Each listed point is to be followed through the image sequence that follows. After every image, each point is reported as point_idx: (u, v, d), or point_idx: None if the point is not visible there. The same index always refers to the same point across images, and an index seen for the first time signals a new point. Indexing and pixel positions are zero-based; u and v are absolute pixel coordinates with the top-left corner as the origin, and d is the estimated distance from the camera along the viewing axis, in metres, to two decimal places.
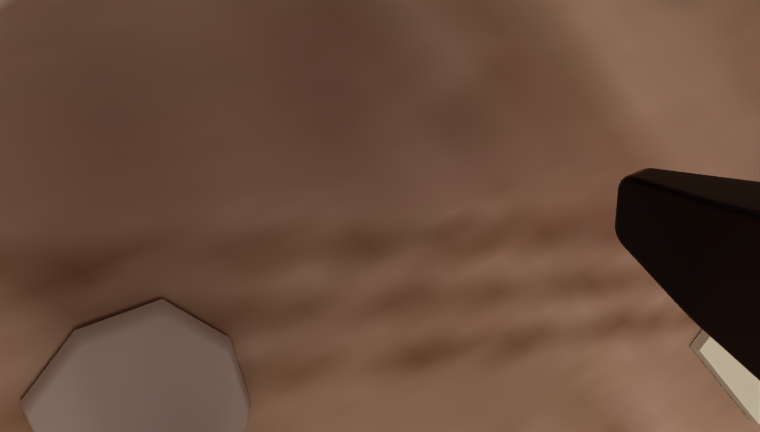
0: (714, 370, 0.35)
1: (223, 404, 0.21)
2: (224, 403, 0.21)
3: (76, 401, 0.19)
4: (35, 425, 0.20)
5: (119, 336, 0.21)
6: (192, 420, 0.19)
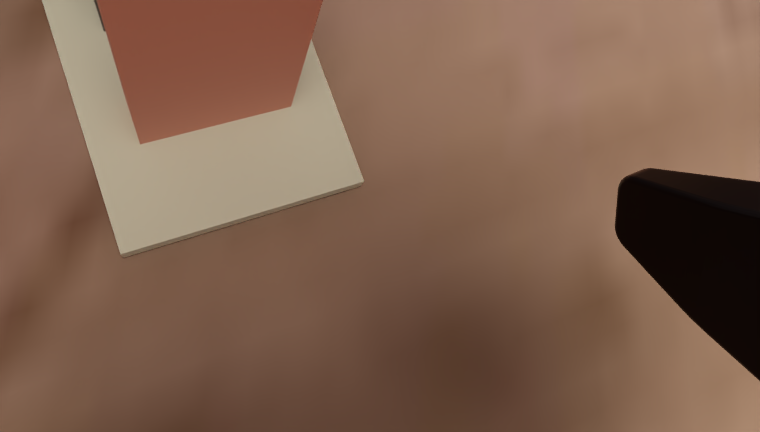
0: (190, 234, 0.20)
1: None
2: None
3: None
4: None
5: None
6: None
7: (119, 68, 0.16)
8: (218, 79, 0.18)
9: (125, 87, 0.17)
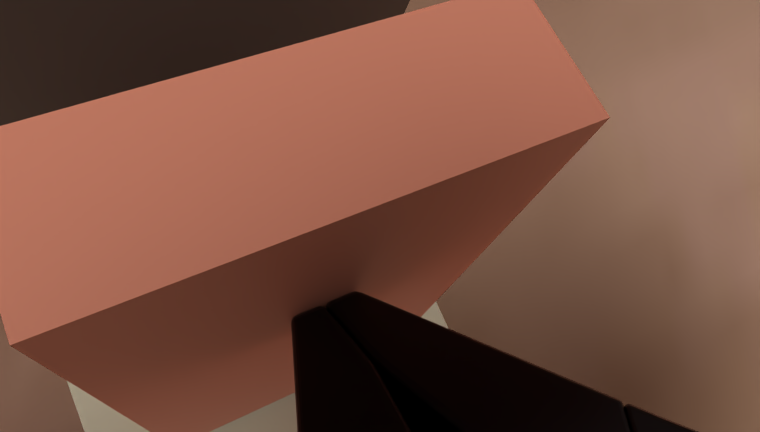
0: None
1: None
2: None
3: None
4: None
5: None
6: None
7: (133, 419, 0.09)
8: None
9: (147, 427, 0.09)
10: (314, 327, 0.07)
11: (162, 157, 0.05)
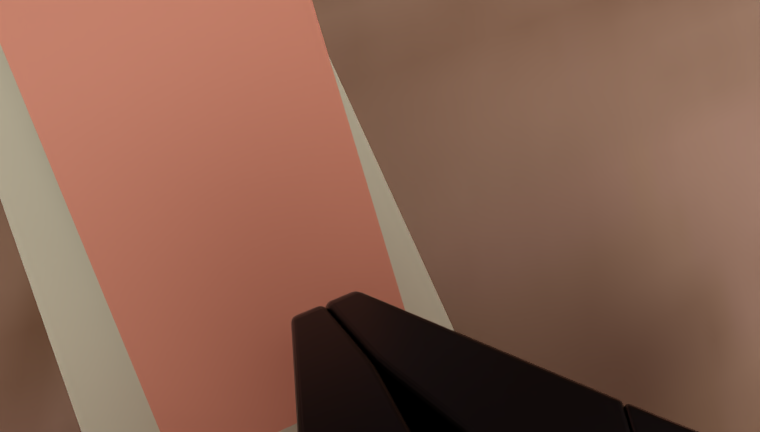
0: None
1: None
2: None
3: None
4: None
5: None
6: None
7: (67, 201, 0.11)
8: (246, 251, 0.12)
9: (93, 261, 0.11)
10: (314, 327, 0.07)
11: None
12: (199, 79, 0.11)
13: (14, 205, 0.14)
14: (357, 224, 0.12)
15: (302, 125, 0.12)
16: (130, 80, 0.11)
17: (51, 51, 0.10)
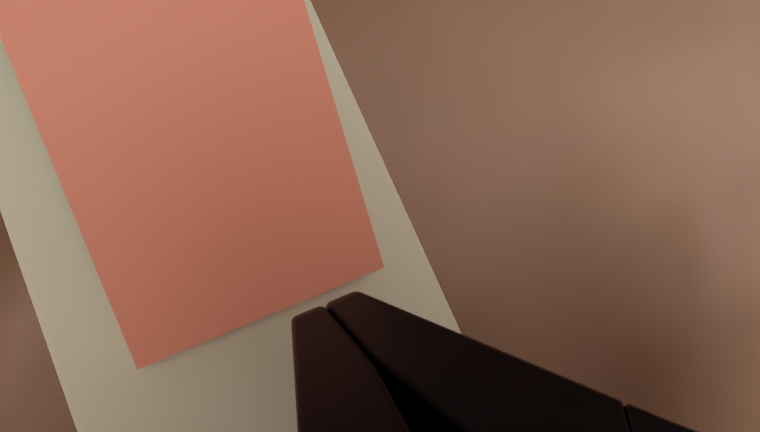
0: None
1: None
2: None
3: None
4: None
5: None
6: None
7: (19, 79, 0.10)
8: (203, 142, 0.12)
9: (46, 143, 0.11)
10: (314, 327, 0.07)
11: None
12: None
13: None
14: (318, 121, 0.12)
15: (261, 16, 0.12)
16: None
17: None
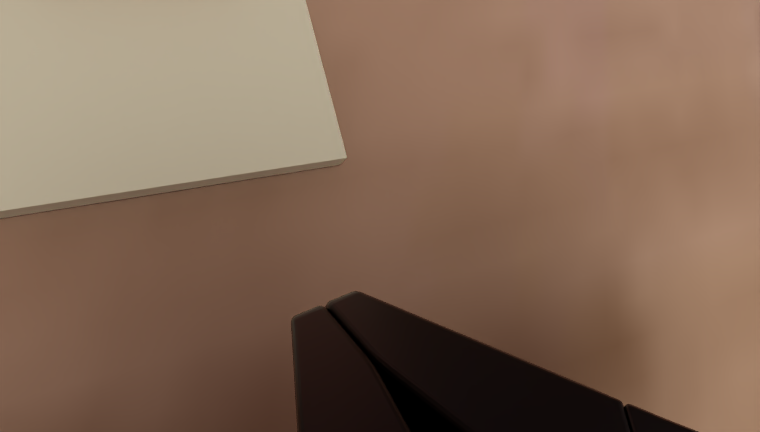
0: (98, 197, 0.14)
1: None
2: None
3: None
4: None
5: None
6: None
7: None
8: None
9: None
10: (314, 327, 0.07)
11: None
12: None
13: None
14: None
15: None
16: None
17: None
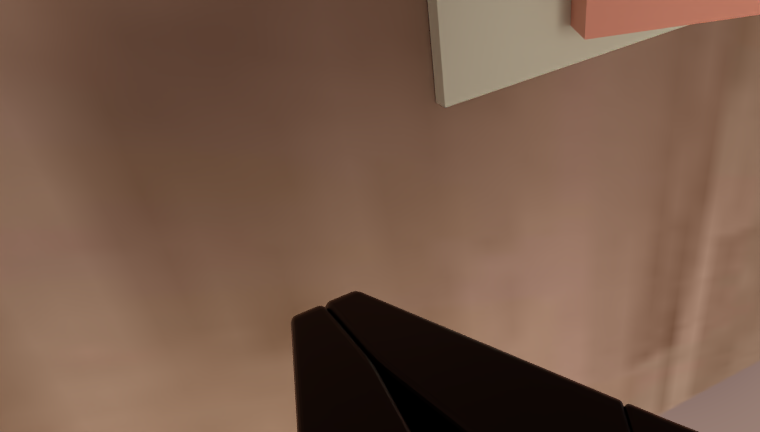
0: None
1: None
2: None
3: None
4: None
5: None
6: None
7: None
8: None
9: None
10: (314, 327, 0.07)
11: None
12: None
13: None
14: (681, 13, 0.22)
15: None
16: None
17: None
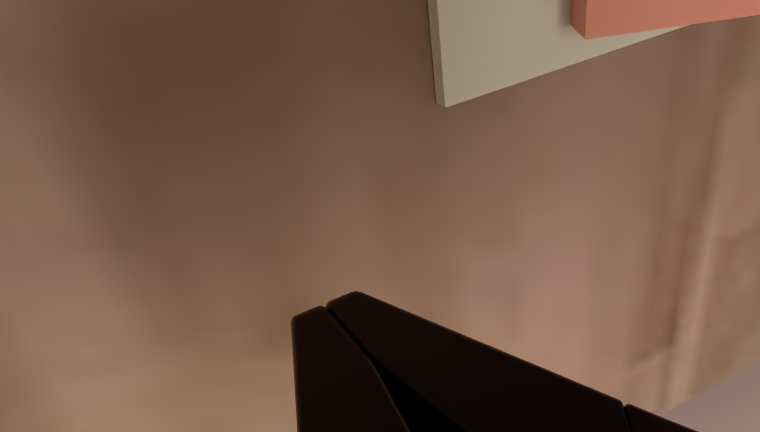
0: None
1: None
2: None
3: None
4: None
5: None
6: None
7: None
8: None
9: None
10: (314, 327, 0.07)
11: None
12: None
13: None
14: (681, 13, 0.22)
15: None
16: None
17: None
